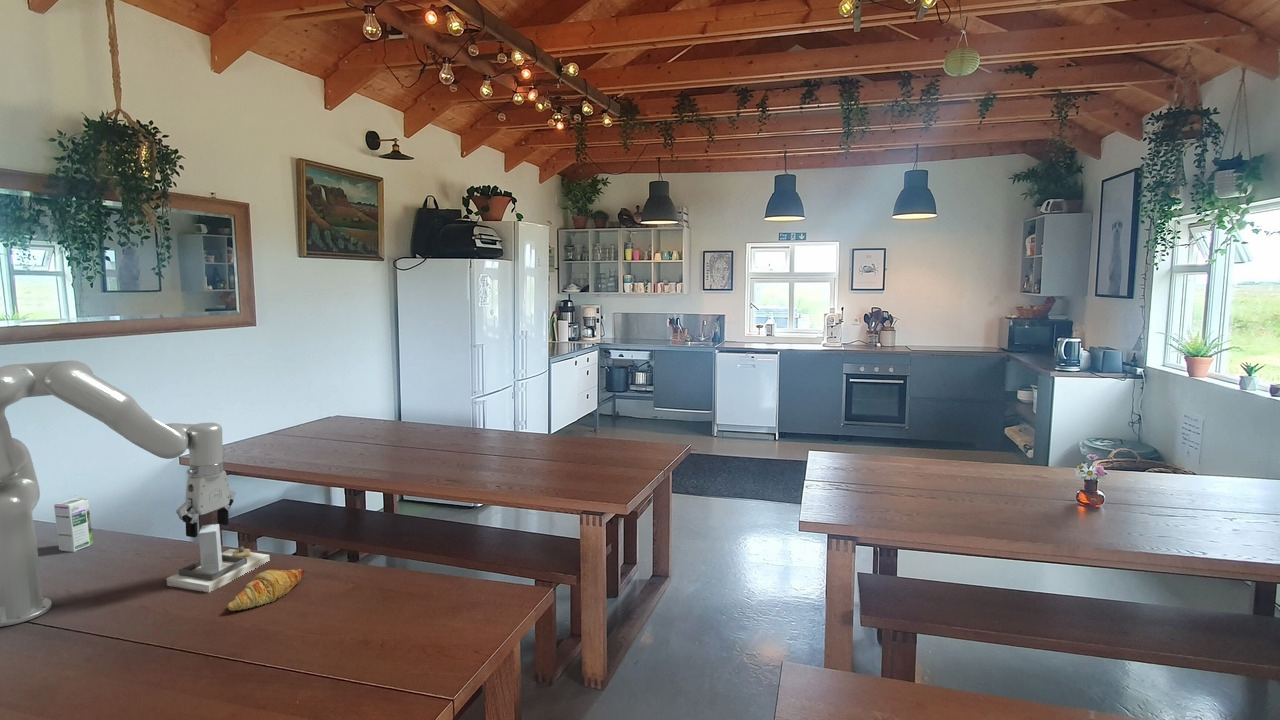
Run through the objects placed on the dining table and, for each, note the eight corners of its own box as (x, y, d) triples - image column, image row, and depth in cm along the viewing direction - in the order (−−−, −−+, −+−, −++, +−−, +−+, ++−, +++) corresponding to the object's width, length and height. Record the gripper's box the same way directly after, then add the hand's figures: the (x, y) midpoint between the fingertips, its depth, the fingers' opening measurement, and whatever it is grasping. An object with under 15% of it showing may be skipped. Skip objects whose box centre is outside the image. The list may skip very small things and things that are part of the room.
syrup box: (74, 552, 197) (69, 505, 195) (58, 550, 198) (53, 503, 197) (93, 544, 203) (89, 498, 201) (77, 543, 204) (73, 497, 202)
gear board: (209, 592, 174) (208, 576, 174) (167, 585, 178) (165, 569, 177) (269, 561, 194) (268, 546, 193) (230, 555, 197) (229, 540, 197)
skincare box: (204, 566, 185) (201, 525, 183) (222, 564, 187) (219, 522, 185) (200, 575, 180) (198, 533, 178) (219, 572, 181) (216, 530, 180)
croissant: (238, 630, 163) (246, 606, 161) (211, 604, 166) (219, 581, 163) (310, 591, 183) (319, 569, 180) (285, 569, 185) (294, 547, 183)
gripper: (188, 479, 171) (190, 543, 172) (244, 462, 187) (245, 521, 189) (165, 475, 172) (167, 539, 174) (222, 459, 189) (223, 518, 191)
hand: (207, 530), depth 182 cm, fingers open, 9 cm apart
